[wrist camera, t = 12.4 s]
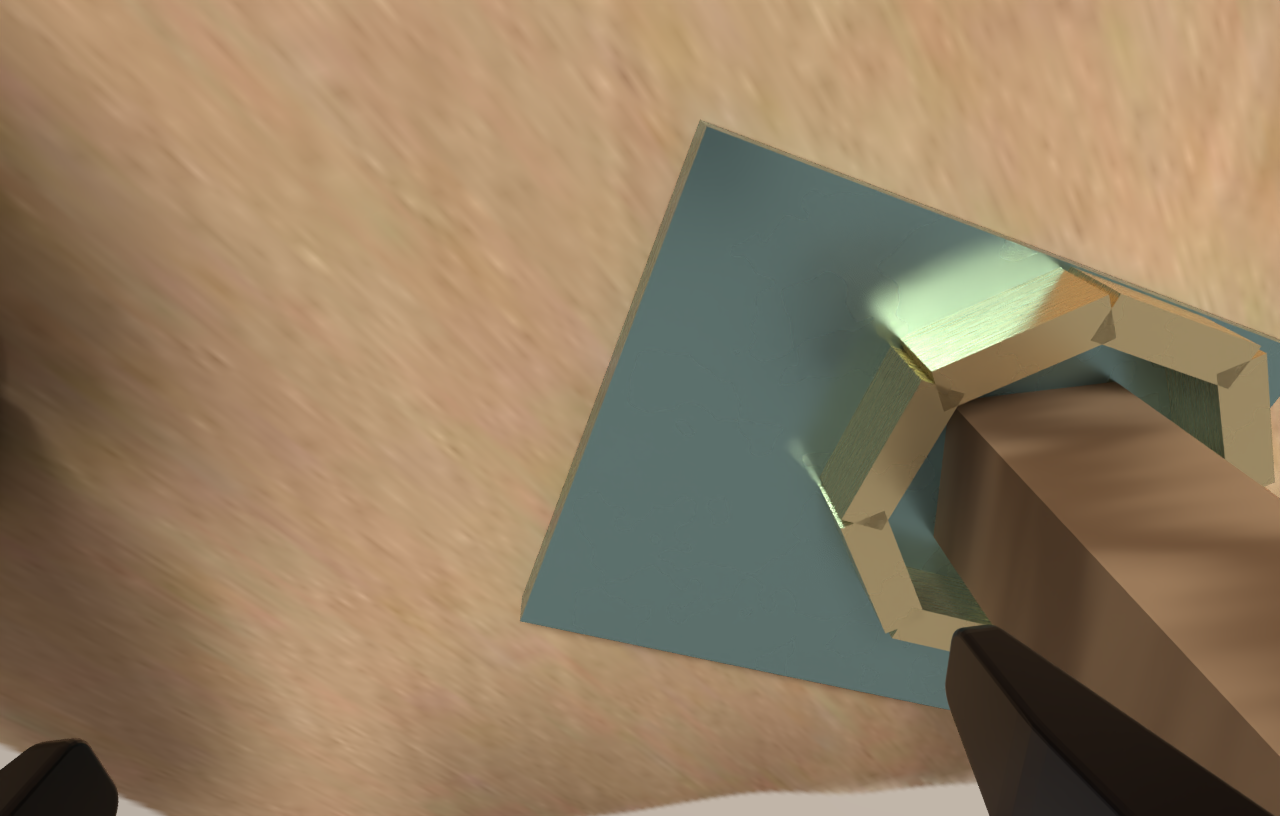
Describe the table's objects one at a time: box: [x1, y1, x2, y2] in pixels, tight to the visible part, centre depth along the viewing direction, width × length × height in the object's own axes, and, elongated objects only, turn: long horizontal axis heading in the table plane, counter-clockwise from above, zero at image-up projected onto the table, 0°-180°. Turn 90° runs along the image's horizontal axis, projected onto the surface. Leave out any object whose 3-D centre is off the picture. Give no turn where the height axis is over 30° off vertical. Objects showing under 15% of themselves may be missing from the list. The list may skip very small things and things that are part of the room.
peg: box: [933, 382, 1280, 816], centre depth 16 cm, size 5×5×14 cm
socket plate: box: [520, 120, 1280, 710], centre depth 22 cm, size 18×15×3 cm
